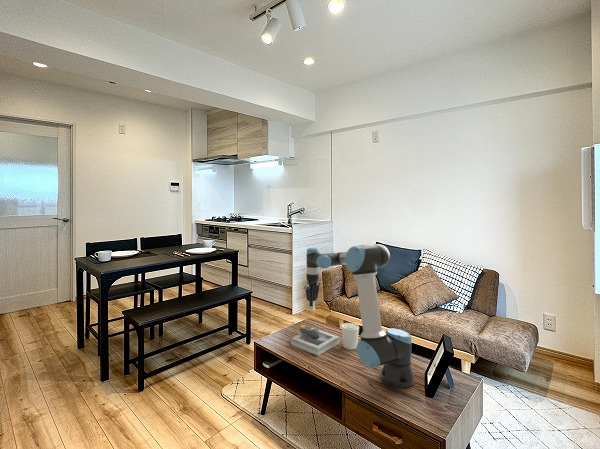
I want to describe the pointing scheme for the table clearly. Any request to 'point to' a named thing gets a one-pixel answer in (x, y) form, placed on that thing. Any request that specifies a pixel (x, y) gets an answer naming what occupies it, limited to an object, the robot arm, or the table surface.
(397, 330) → the robot arm
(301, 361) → the table surface
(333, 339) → the dial panel
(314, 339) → the dial
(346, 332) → the candle holder
